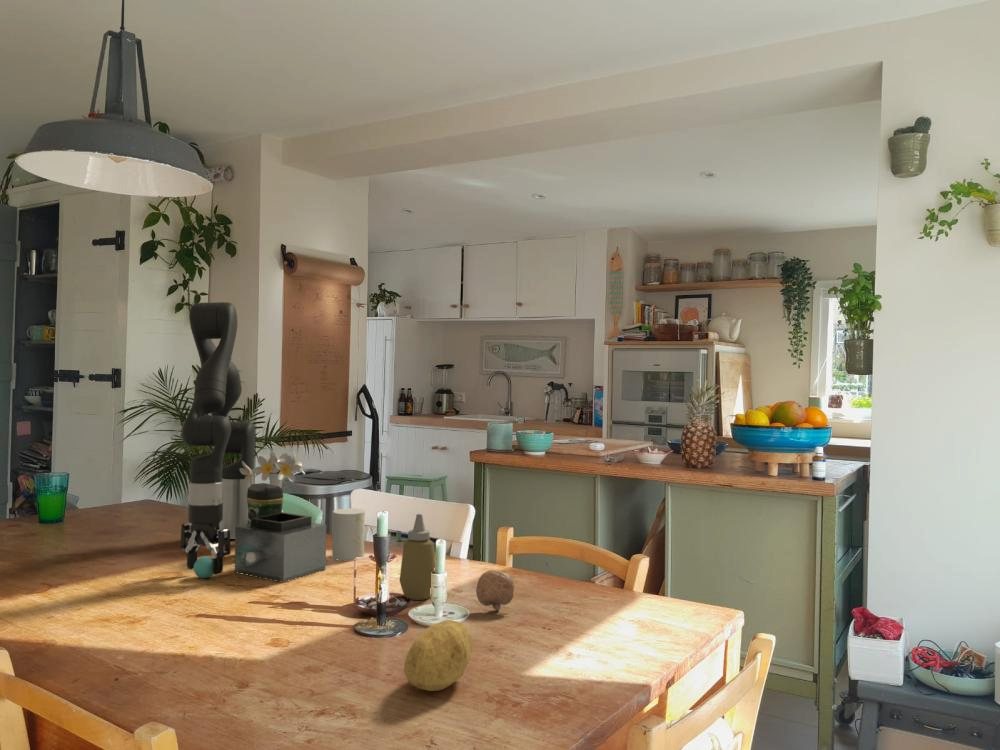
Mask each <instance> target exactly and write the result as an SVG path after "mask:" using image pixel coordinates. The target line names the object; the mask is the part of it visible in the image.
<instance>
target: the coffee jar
mask: <svg viewBox="0 0 1000 750" xmlns="http://www.w3.org/2000/svg"><path fill="white" fill-rule="evenodd" d="M283 503H284V489H283V488H282V486H281V487H279V486H275V485H271V484H270V483H266V482H265V483H264V482H262V483H261V482H260V483H259V482H258V483H253V484H252V485H251V486H250V487H249V488H248V491H247V504H248V523H247V524H251V518H256V517H261V516H266V515H270V514H275V513H280V512H282V510H283Z"/></svg>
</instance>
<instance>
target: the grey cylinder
mask: <svg viewBox="0 0 1000 750" xmlns="http://www.w3.org/2000/svg"><path fill="white" fill-rule="evenodd" d="M365 515H366V512H365V510H364V509H362V508H351V507H350V508H348V507H347V508H339V509H335V510H332V545H331V547H332V548H331V549H332V552H331V553H332V557H331V558H332V559H333V558H334V560H335V559H338V560H337V561H340V560H353V561H355V560H354V559H355V558H356V557H363V556H364V557H365V521H366V519H365Z"/></svg>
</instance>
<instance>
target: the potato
mask: <svg viewBox="0 0 1000 750" xmlns="http://www.w3.org/2000/svg"><path fill="white" fill-rule="evenodd" d="M472 654H473V638H472V635H471V631H470V630H469V629H468V627H467V626H466V625H465V624H463V623H462V622H460V621H457V620H452V619H445V620H441V621H439V622H437V623H435V624H432V625H430V626H429V627H427V628H426V629H424V631H422V632H421V633H420V634H419V635H418V636H417V638H416V639H415V640H414V642H413V643H412V645H411V646H410V648H409V649H408V652H407V654H406V657H405V659H404V667H403V673H404V675H405V677H406V680H407V682H408V683H409V684H411V685H412V686H414V687H415V688H417V689H419V690H424V691H429V692H438V691H442V690H445V689H446V688H448V687H450V686H451V685H452V684H454V683H456V682H457V681H458V680H460V679H461V677H462V676H464V673H465V669H466V668H467V666H468V664H469V661H470V659H471V657H472Z"/></svg>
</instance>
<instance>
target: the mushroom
mask: <svg viewBox="0 0 1000 750" xmlns="http://www.w3.org/2000/svg"><path fill="white" fill-rule="evenodd" d="M475 589H476V590H475V591H476V598H477V600H478V601H479V603H480V604H481V605H483V606H486V607H490V606H492V608H493V609H494V610H495V611H496V612H498V611H501V605H502V606H506V605H508V604H510V603H511V602H512V600H513V598H514V591H515V583H514V580H513V578H512V577H511V575H510V574H508V573H507V572H503V571H500V570H493V569H489V570H486V571H485V572H483V573H482V574H481V575H480V577H479V578H478V581H477V584H476V588H475Z"/></svg>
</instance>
